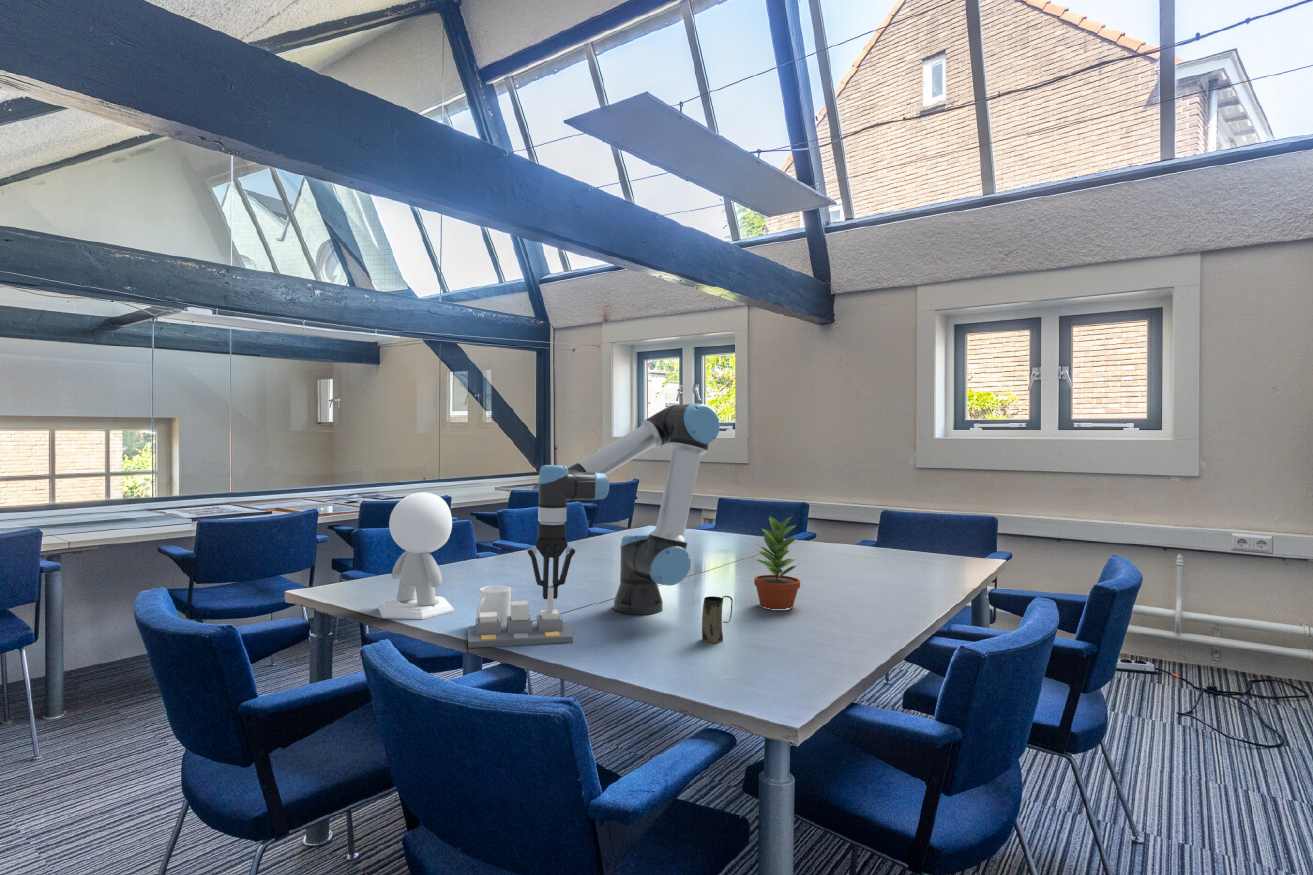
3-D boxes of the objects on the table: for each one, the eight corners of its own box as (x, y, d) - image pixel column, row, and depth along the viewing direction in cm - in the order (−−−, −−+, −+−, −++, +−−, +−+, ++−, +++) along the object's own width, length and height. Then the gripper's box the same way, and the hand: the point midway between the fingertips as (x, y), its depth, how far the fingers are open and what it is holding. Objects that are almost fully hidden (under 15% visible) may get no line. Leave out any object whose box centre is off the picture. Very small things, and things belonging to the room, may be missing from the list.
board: (565, 627, 191) (565, 611, 191) (572, 642, 178) (573, 624, 178) (468, 632, 185) (468, 615, 185) (468, 647, 171) (468, 629, 171)
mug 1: (489, 635, 183) (490, 596, 183) (464, 630, 186) (465, 592, 186) (515, 624, 194) (516, 587, 194) (491, 620, 197) (492, 584, 197)
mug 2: (699, 641, 181) (700, 596, 181) (704, 636, 187) (705, 591, 187) (728, 645, 179) (730, 599, 179) (733, 639, 184) (734, 594, 184)
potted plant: (751, 600, 229) (753, 509, 229) (798, 602, 227) (800, 511, 227) (751, 611, 215) (753, 514, 215) (801, 614, 213) (803, 516, 213)
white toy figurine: (468, 607, 210) (471, 492, 210) (405, 624, 191) (408, 497, 191) (425, 598, 221) (427, 488, 221) (360, 612, 202) (363, 492, 202)
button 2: (527, 615, 185) (527, 600, 185) (528, 619, 181) (528, 604, 181) (510, 616, 184) (510, 601, 184) (511, 620, 180) (511, 605, 180)
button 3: (496, 627, 183) (496, 611, 183) (497, 631, 179) (497, 616, 179) (479, 627, 182) (479, 612, 182) (479, 632, 178) (479, 617, 178)
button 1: (556, 624, 188) (557, 609, 188) (558, 628, 183) (559, 613, 183) (540, 624, 186) (540, 610, 186) (542, 629, 182) (542, 614, 182)
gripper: (574, 520, 190) (571, 606, 190) (526, 521, 187) (523, 608, 187) (578, 524, 183) (576, 613, 183) (528, 524, 179) (526, 615, 179)
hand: (549, 610), depth 185 cm, fingers closed
